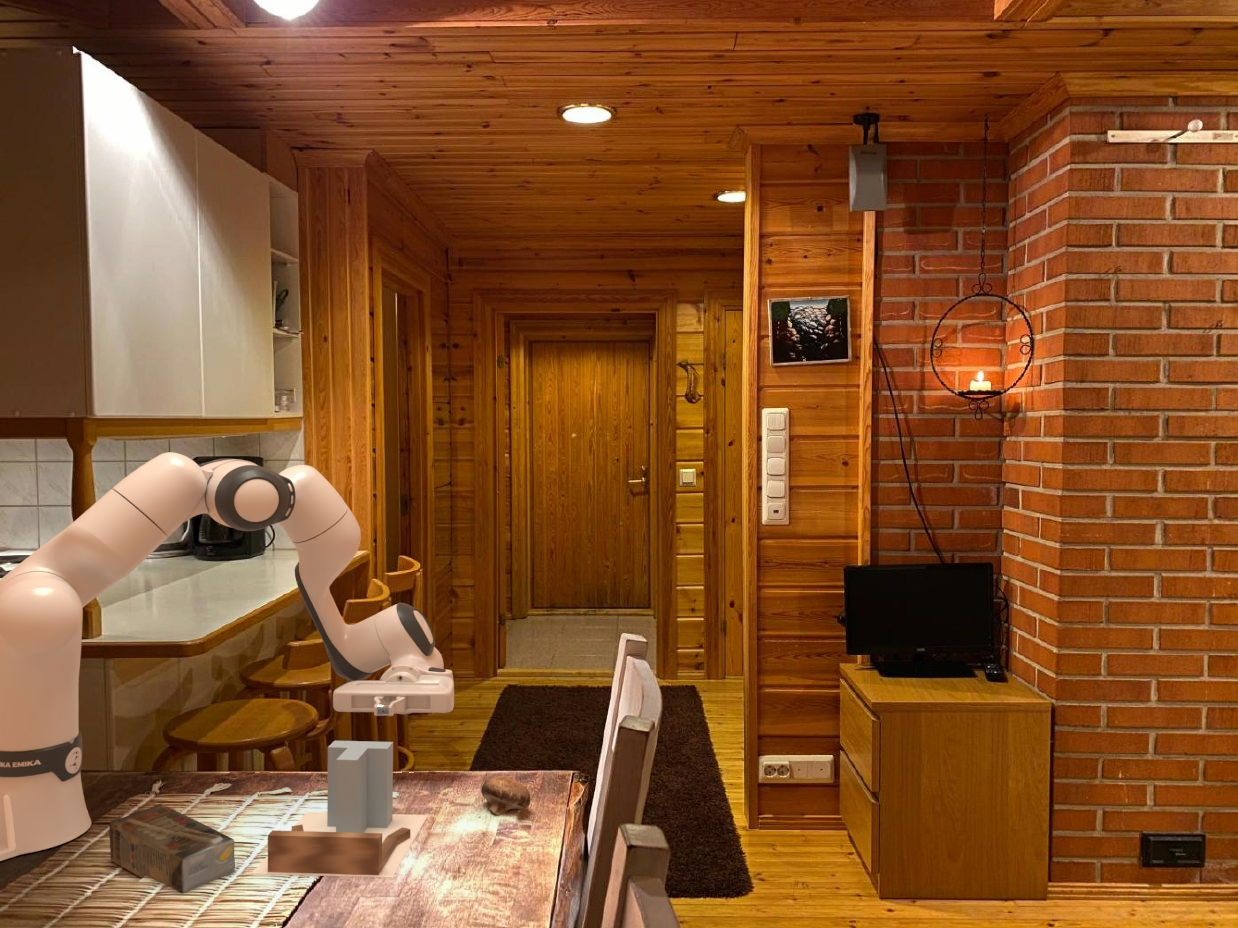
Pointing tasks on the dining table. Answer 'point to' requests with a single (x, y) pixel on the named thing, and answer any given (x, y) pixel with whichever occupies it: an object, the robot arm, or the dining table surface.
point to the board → (319, 824)
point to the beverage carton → (171, 848)
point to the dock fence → (331, 851)
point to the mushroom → (505, 795)
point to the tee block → (360, 785)
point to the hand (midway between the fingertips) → (382, 711)
